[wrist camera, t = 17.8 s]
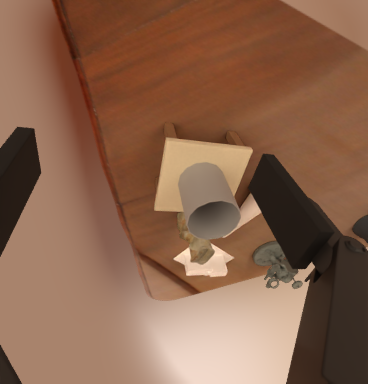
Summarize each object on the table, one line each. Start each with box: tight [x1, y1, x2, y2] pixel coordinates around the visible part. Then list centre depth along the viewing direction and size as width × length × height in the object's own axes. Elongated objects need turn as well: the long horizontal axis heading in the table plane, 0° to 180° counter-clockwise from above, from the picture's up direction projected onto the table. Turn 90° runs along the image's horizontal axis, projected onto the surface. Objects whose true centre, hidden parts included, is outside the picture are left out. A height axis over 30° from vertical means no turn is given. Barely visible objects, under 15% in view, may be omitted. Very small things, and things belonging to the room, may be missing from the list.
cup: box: [178, 162, 241, 240], centre depth 43 cm, size 8×8×10 cm
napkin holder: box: [174, 244, 234, 277], centre depth 73 cm, size 15×11×6 cm
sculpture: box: [177, 212, 215, 265], centre depth 56 cm, size 6×7×15 cm
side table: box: [154, 122, 253, 212], centre depth 50 cm, size 15×15×8 cm
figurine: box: [253, 241, 303, 289], centre depth 74 cm, size 11×11×12 cm
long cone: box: [223, 193, 261, 238], centre depth 63 cm, size 6×6×19 cm
